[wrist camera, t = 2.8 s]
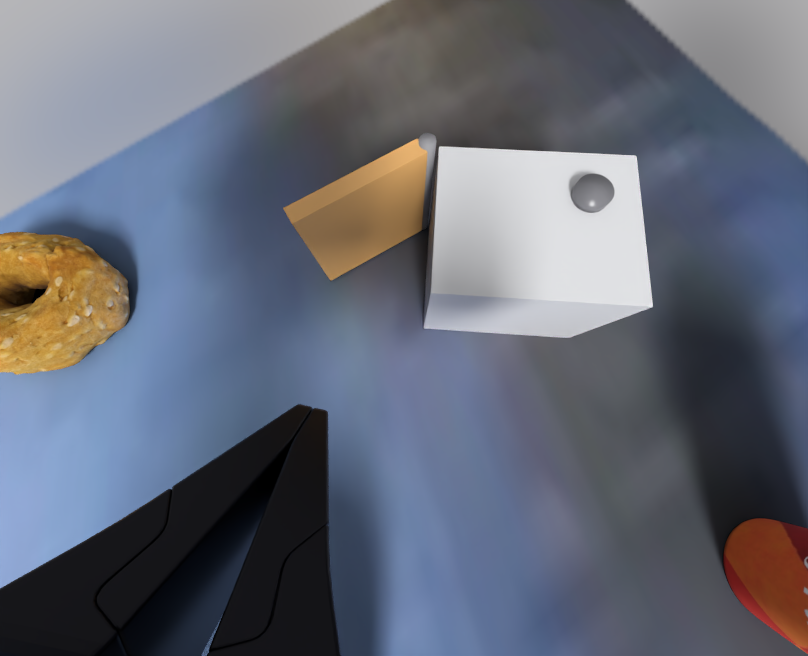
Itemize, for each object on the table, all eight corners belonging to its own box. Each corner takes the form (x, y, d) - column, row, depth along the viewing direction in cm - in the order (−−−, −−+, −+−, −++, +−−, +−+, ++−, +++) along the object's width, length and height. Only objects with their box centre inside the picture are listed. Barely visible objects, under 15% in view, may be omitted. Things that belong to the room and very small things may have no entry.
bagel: (119, 382, 21) (37, 376, 16) (-30, 371, 22) (-151, 362, 17) (157, 250, 23) (94, 213, 19) (21, 243, 24) (-73, 205, 19)
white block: (568, 338, 21) (661, 303, 13) (422, 328, 21) (430, 289, 14) (562, 215, 23) (641, 124, 15) (429, 208, 24) (440, 115, 16)
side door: (331, 281, 22) (290, 222, 15) (322, 267, 23) (279, 201, 15) (430, 226, 23) (440, 143, 16) (421, 213, 23) (426, 125, 16)
